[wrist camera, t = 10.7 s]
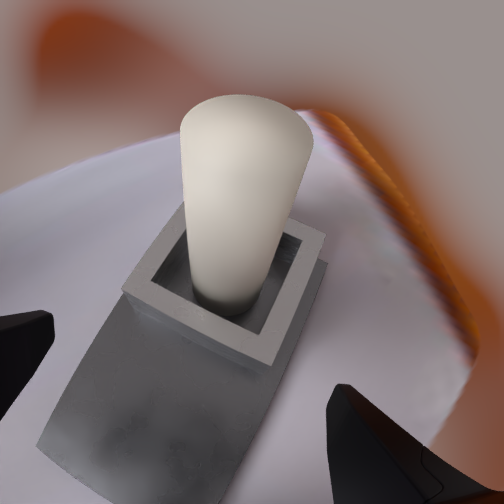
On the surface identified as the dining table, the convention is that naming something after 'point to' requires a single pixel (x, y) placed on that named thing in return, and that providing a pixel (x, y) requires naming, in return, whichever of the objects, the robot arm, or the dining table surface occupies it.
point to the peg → (238, 193)
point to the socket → (180, 376)
